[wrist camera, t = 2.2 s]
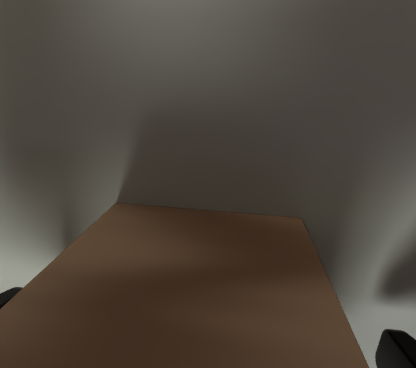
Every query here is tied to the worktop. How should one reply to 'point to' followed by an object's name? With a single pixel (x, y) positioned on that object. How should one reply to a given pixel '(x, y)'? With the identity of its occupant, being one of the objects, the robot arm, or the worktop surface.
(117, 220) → the walnut block
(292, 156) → the worktop surface
